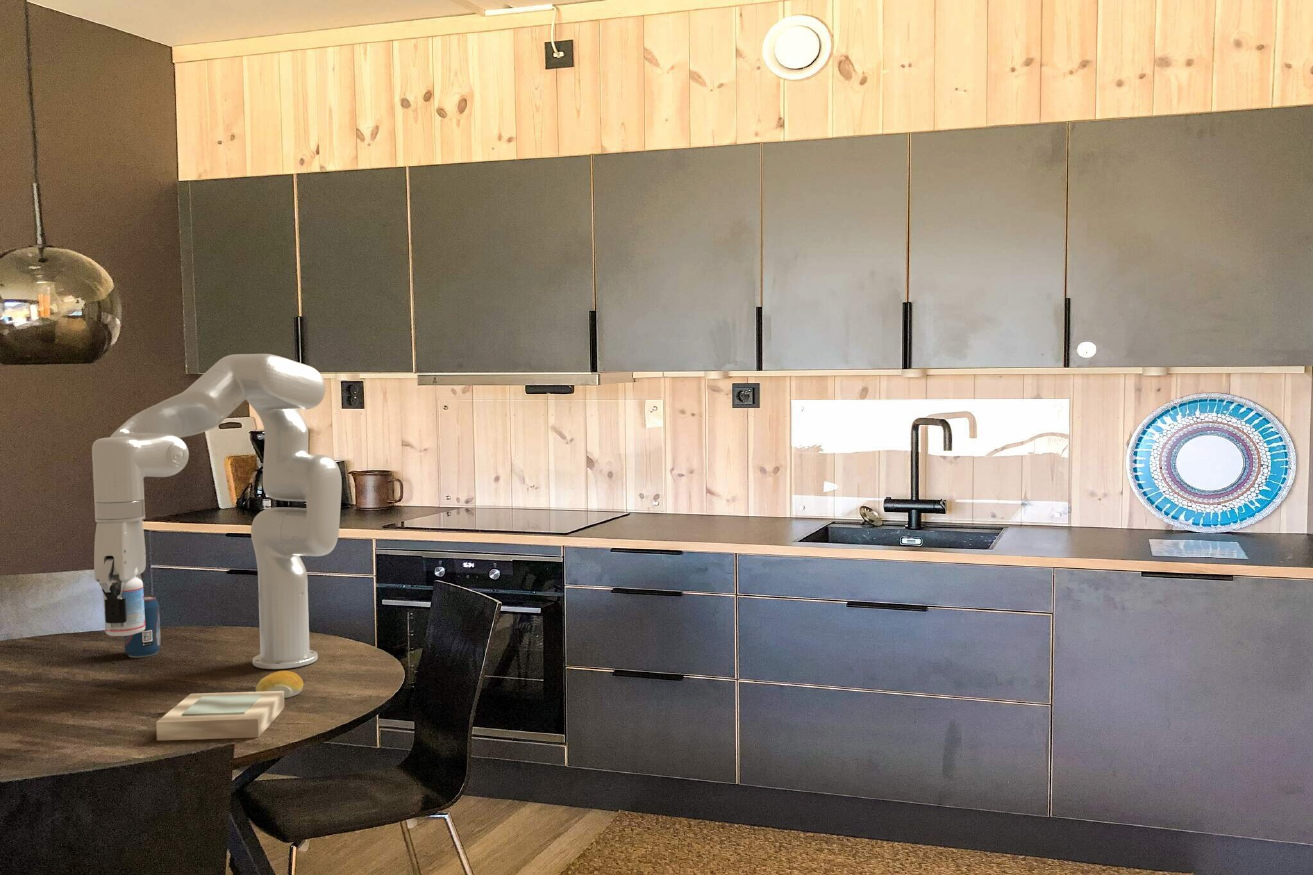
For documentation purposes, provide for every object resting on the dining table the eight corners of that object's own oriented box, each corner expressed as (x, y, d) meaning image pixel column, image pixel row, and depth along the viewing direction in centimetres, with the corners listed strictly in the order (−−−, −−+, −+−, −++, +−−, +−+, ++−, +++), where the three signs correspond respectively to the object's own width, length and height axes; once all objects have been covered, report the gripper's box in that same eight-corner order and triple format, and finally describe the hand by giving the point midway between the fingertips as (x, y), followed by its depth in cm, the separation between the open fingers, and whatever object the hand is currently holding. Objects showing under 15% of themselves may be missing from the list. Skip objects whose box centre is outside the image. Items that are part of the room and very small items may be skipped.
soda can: (120, 654, 237) (118, 597, 236) (155, 648, 241) (152, 593, 240) (130, 660, 231) (128, 602, 231) (165, 654, 236) (163, 597, 235)
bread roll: (304, 685, 212) (304, 664, 212) (300, 698, 204) (300, 677, 203) (258, 688, 210) (258, 667, 210) (252, 702, 202) (252, 680, 201)
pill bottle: (153, 630, 189) (150, 564, 188) (122, 638, 184) (119, 570, 183) (128, 626, 192) (125, 561, 191) (97, 634, 186) (93, 568, 186)
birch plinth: (191, 710, 196) (190, 691, 196) (284, 707, 197) (283, 689, 197) (156, 740, 180) (156, 720, 180) (258, 737, 181) (257, 717, 181)
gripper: (118, 505, 195) (123, 607, 196) (73, 519, 178) (78, 630, 179) (162, 504, 195) (167, 606, 196) (121, 518, 178) (126, 629, 179)
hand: (124, 616), depth 188 cm, fingers closed on pill bottle, 6 cm apart
